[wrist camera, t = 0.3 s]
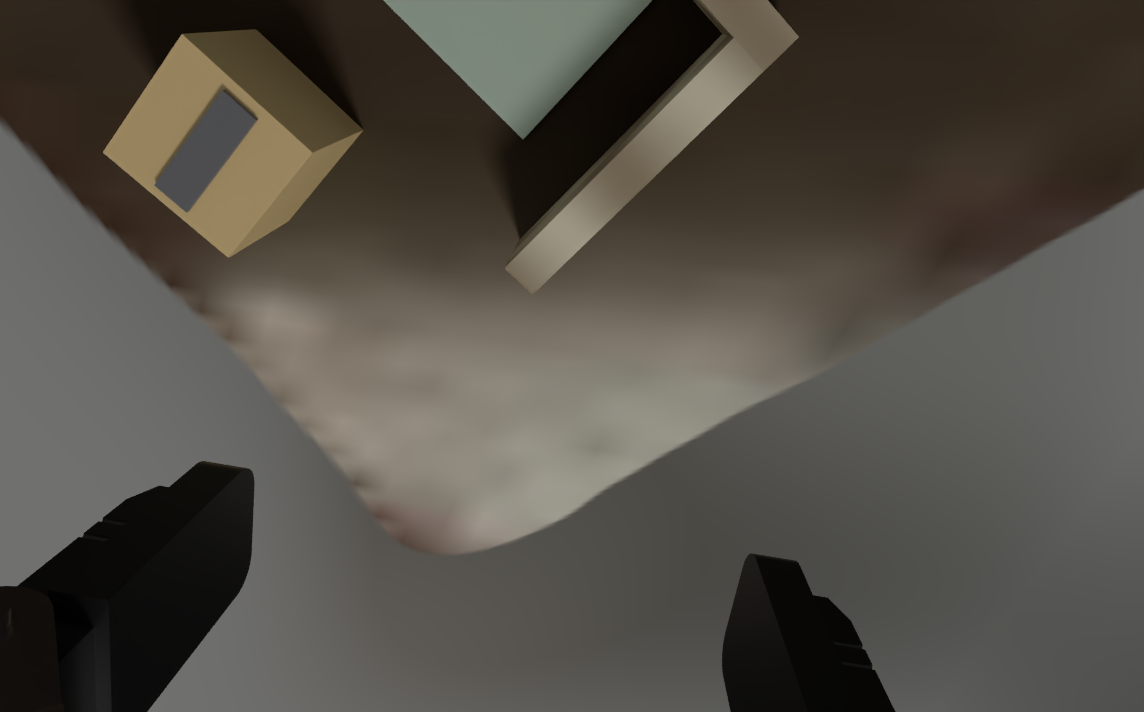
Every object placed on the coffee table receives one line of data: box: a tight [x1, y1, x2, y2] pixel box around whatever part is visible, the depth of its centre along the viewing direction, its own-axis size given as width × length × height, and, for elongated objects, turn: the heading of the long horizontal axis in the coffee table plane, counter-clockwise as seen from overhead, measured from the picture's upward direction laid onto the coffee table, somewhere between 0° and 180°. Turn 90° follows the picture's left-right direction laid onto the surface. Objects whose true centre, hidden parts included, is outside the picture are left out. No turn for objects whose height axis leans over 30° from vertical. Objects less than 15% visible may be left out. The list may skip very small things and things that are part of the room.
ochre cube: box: [103, 29, 363, 258], centre depth 30 cm, size 6×6×6 cm
